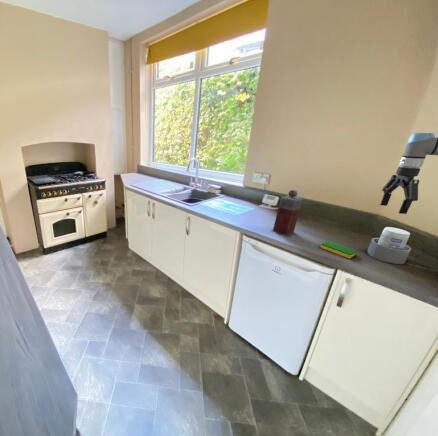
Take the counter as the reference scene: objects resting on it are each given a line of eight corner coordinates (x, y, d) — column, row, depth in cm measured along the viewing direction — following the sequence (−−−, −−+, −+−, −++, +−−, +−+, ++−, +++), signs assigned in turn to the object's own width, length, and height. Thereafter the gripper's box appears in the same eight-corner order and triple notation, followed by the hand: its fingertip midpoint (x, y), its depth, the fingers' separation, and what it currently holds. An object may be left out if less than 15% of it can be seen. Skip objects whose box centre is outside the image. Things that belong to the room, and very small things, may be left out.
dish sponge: (325, 244, 135) (327, 240, 135) (355, 255, 125) (356, 251, 124) (319, 247, 132) (321, 243, 131) (349, 258, 121) (351, 254, 120)
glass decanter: (295, 232, 152) (307, 190, 141) (286, 236, 146) (297, 192, 135) (281, 227, 158) (291, 187, 148) (272, 231, 153) (282, 189, 142)
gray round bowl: (402, 255, 125) (408, 243, 122) (407, 267, 114) (413, 253, 111) (366, 247, 133) (371, 235, 131) (367, 257, 123) (372, 244, 120)
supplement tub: (385, 260, 119) (397, 234, 114) (368, 251, 128) (378, 226, 122) (403, 260, 119) (416, 234, 114) (385, 251, 128) (396, 226, 123)
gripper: (382, 163, 124) (368, 201, 132) (421, 170, 102) (401, 216, 109) (399, 164, 123) (384, 202, 130) (442, 171, 100) (421, 218, 107)
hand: (392, 209), depth 120 cm, fingers open, 13 cm apart
